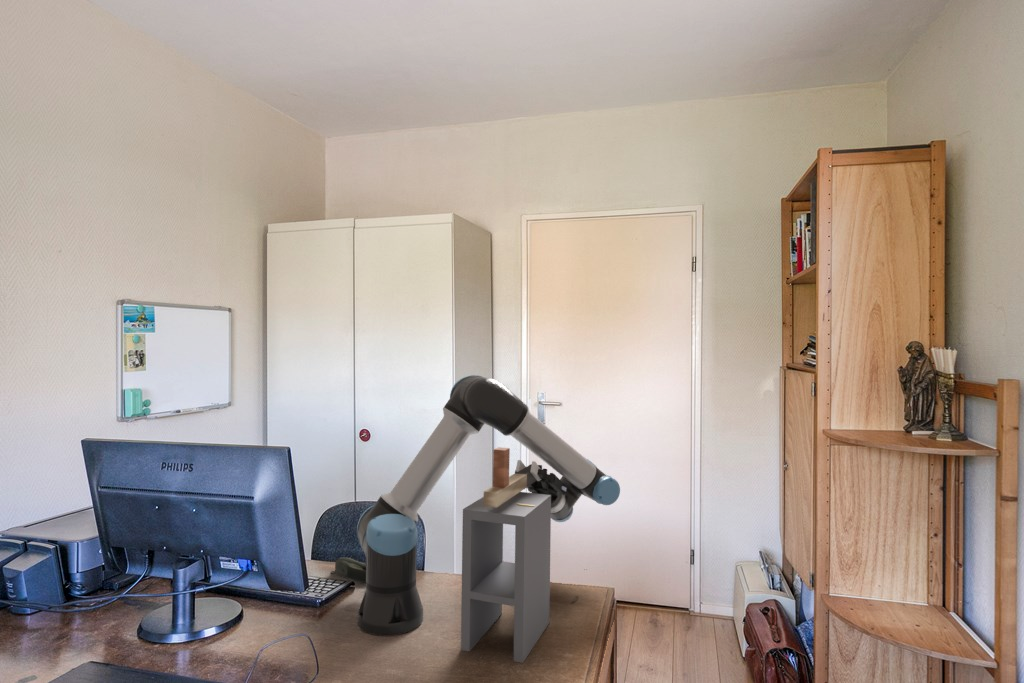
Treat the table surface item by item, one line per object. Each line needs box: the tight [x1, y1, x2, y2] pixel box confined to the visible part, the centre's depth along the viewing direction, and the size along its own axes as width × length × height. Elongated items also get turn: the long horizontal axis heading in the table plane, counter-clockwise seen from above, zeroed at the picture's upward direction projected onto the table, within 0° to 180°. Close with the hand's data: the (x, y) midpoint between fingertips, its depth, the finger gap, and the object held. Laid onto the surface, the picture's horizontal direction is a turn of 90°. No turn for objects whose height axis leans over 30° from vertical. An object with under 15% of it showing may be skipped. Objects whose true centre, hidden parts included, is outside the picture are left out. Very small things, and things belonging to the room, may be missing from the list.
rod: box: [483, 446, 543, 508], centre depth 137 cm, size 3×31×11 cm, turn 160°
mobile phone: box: [330, 557, 366, 585], centre depth 165 cm, size 5×3×15 cm
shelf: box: [460, 491, 552, 664], centre depth 133 cm, size 14×19×30 cm
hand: (525, 466), depth 143 cm, fingers closed on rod, 3 cm apart
